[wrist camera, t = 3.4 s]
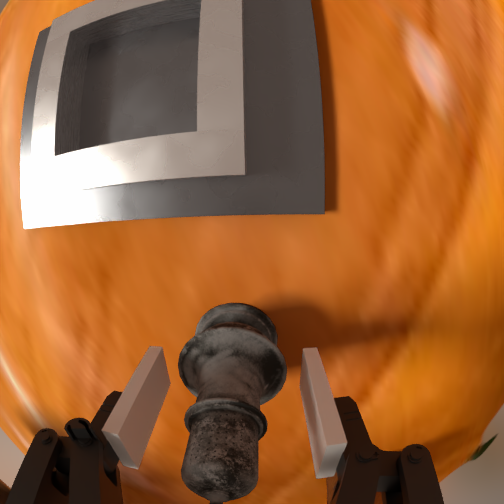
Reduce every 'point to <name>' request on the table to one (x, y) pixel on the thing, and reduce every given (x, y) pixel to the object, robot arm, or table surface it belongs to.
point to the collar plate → (173, 112)
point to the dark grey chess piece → (228, 398)
